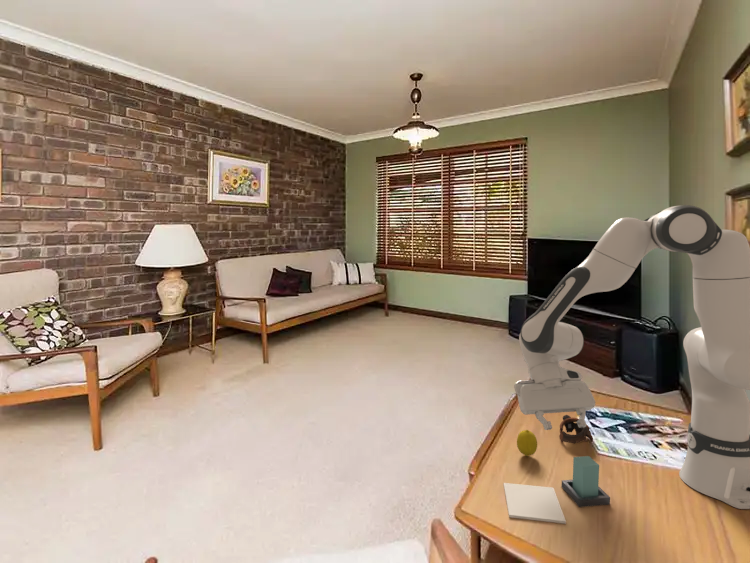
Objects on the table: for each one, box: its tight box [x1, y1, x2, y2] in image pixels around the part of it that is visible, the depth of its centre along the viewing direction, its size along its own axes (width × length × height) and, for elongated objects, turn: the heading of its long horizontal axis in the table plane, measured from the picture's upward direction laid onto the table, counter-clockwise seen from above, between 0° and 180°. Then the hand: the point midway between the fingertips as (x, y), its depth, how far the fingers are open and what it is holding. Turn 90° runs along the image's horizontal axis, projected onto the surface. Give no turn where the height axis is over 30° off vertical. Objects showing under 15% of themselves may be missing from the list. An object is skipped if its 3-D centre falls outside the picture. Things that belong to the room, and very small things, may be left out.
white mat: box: [503, 482, 567, 525], centre depth 95 cm, size 12×12×1 cm
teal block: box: [572, 455, 600, 498], centre depth 97 cm, size 4×4×9 cm
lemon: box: [516, 429, 538, 457], centre depth 115 cm, size 6×6×8 cm
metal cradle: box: [561, 479, 611, 508], centre depth 97 cm, size 8×8×2 cm
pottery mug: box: [558, 414, 594, 444], centre depth 124 cm, size 12×10×8 cm
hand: (565, 428), depth 105 cm, fingers open, 8 cm apart
